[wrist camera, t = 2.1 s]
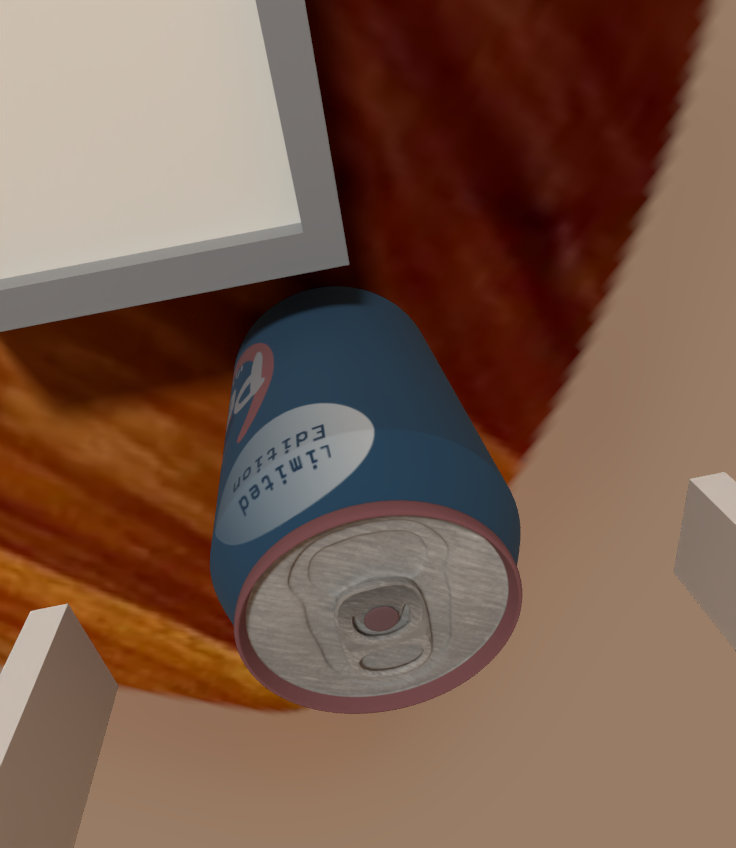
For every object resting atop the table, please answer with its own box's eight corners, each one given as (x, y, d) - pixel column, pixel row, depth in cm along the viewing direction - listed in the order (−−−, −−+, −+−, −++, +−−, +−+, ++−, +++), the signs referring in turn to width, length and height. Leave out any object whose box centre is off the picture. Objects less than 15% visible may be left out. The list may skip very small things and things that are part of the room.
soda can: (209, 299, 20) (141, 537, 10) (409, 254, 20) (551, 443, 10) (265, 462, 23) (258, 761, 13) (433, 423, 24) (555, 689, 13)
